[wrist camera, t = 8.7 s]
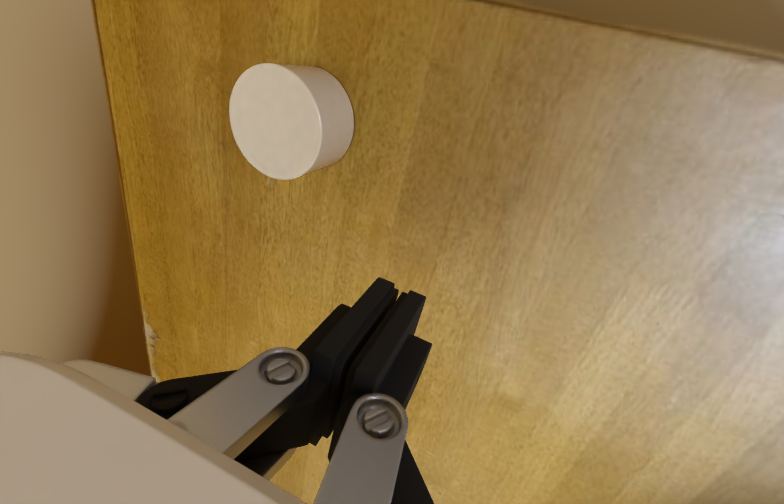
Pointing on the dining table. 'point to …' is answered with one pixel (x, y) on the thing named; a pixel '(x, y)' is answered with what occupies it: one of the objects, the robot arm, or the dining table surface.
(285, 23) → the dining table surface
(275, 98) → the white cylindrical puck
